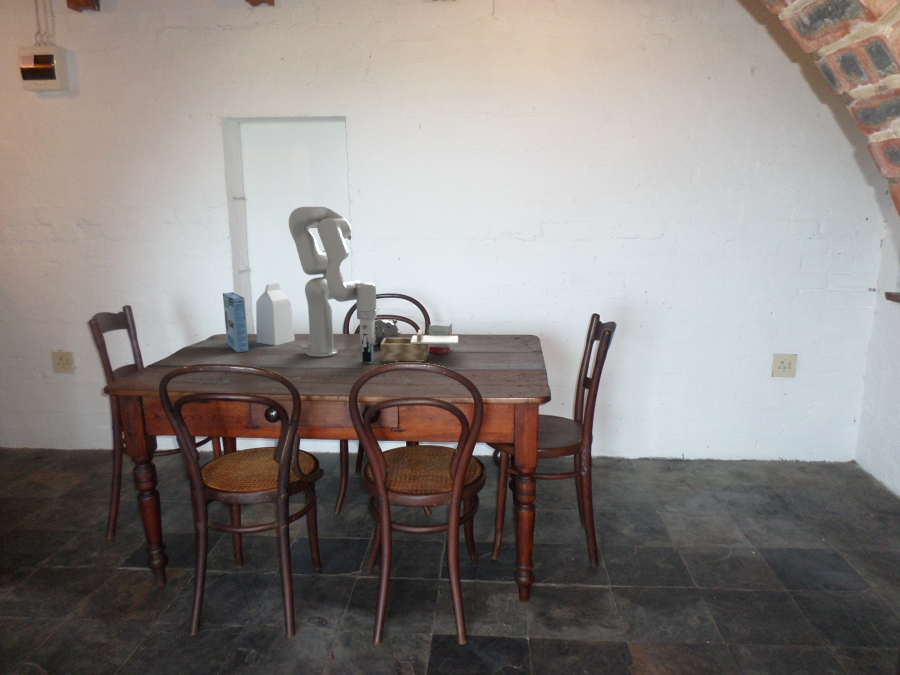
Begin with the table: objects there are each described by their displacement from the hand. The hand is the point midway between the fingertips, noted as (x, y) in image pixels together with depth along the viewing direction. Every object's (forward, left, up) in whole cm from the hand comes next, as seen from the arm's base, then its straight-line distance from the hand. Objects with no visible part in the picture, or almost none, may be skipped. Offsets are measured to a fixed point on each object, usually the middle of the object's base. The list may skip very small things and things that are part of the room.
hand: (367, 359), depth 248 cm
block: (0, 0, -1) cm, 1 cm away
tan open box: (+14, +7, -1) cm, 16 cm away
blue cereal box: (-60, +23, -1) cm, 64 cm away
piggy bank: (+3, +30, -1) cm, 30 cm away
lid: (+26, +7, +7) cm, 28 cm away
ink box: (+28, +20, -1) cm, 34 cm away
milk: (-47, +36, -1) cm, 59 cm away
